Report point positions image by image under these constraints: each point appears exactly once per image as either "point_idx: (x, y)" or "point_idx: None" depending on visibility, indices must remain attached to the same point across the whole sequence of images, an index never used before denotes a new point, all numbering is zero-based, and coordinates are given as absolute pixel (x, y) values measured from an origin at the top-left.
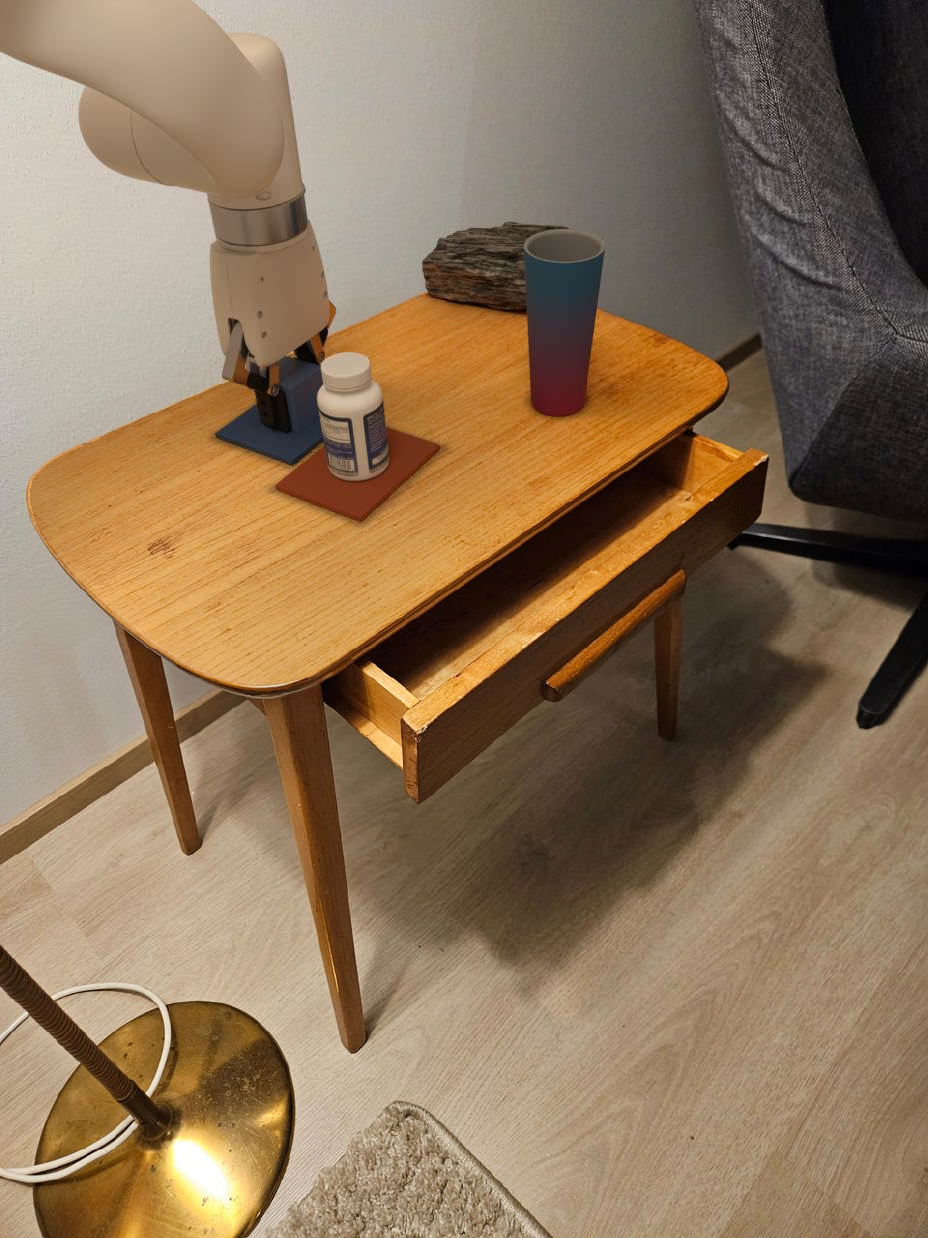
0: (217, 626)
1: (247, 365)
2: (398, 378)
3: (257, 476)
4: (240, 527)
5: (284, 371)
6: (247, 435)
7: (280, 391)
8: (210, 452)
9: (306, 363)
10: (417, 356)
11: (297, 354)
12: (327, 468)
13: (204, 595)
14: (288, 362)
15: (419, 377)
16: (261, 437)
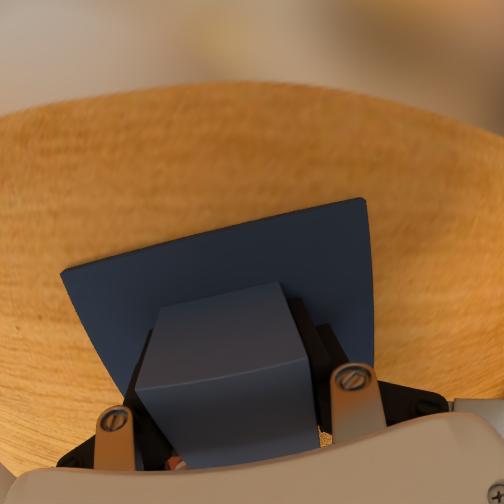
0: (20, 467)
1: (97, 469)
2: (445, 339)
3: (89, 401)
4: (47, 435)
5: (232, 426)
6: (109, 332)
7: (173, 451)
8: (42, 300)
9: (308, 428)
10: (499, 302)
11: (325, 400)
12: (178, 459)
13: (12, 450)
14: (278, 402)
15: (455, 354)
16: (129, 356)
